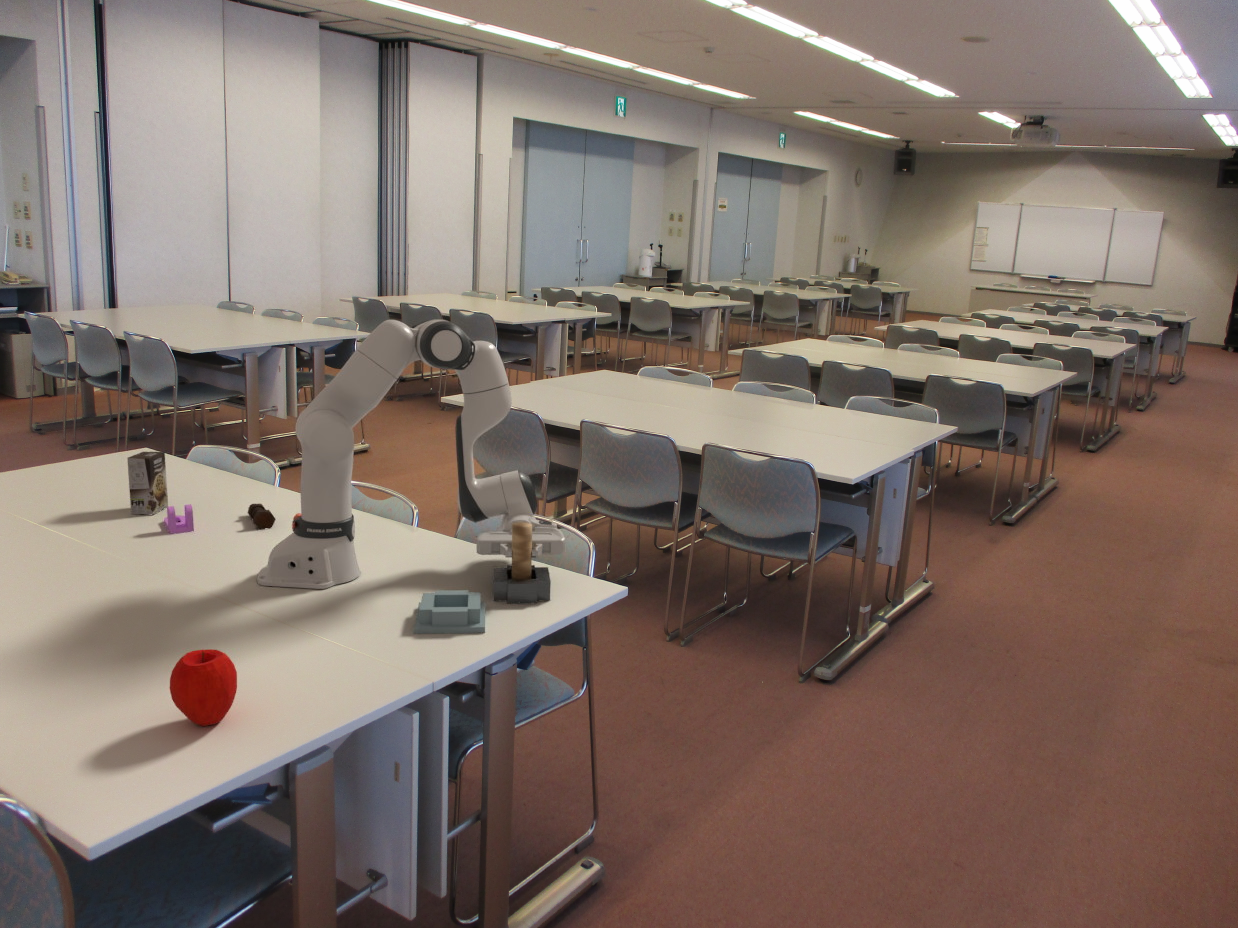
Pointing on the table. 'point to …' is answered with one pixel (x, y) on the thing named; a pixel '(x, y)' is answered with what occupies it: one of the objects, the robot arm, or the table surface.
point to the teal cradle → (450, 613)
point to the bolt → (261, 516)
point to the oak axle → (521, 550)
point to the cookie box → (147, 482)
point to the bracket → (185, 521)
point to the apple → (204, 686)
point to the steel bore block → (521, 586)
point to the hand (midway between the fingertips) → (521, 554)
